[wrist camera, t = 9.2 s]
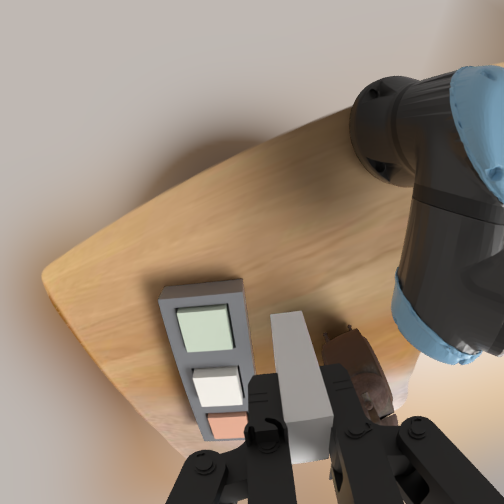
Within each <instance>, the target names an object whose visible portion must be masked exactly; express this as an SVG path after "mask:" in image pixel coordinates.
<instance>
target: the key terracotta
mask: <svg viewBox="0 0 504 504" xmlns="http://www.w3.org/2000/svg"><path fill="white" fill-rule="evenodd" d="M208 421H209V424H210V427H211V429H212V432H213V435H214V438H215V439H230V438H245V437H244V433H243V432H244V428H245V426H246V424H247V423H248V413H247V411H242V412H225V413H208Z"/></svg>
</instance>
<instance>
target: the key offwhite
mask: <svg viewBox="0 0 504 504" xmlns="http://www.w3.org/2000/svg"><path fill="white" fill-rule="evenodd" d="M193 381H194V384H195V388H196V391H197V394H198V397H199V400H200V403H201V406H202V407H212V406H232V405H243V391H242V386H241V381H240V376H239V370H238V365H237V366H224V367H209V368H194V373H193Z"/></svg>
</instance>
